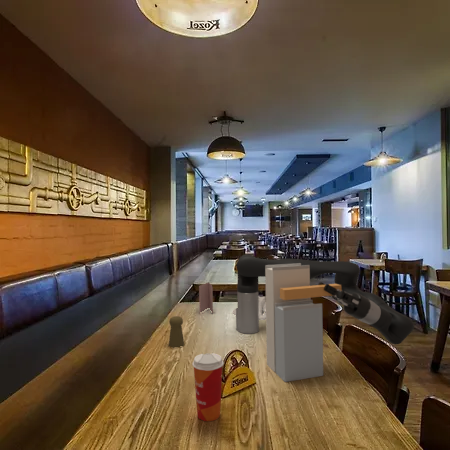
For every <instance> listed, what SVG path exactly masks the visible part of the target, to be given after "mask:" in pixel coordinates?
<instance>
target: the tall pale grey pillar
mask: <svg viewBox="0 0 450 450" xmlns="http://www.w3.org/2000/svg"><path fill="white" fill-rule="evenodd" d="M302 286H311V279H310V265H302V266H301V263H297V264H279V265H265V298H266V320H265V322H266V323H265V325H266V327H265V329H266V330H265V331H266V333H265V334H266V337H265V339H266V341H265V342H266V366H268V367H269V368H270V370H272V372H274V373H276V342H275V303H281V302H292V301H303V300H311V298H301V299H291V300H283V299H281V298H280V288H290V287H302Z"/></svg>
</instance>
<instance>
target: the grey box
mask: <svg viewBox="0 0 450 450" xmlns="http://www.w3.org/2000/svg"><path fill="white" fill-rule="evenodd" d="M323 329H324V328H323V303H313V299H310V300H303V301H292V302H281V303H275V342H276V372H275V374H276V375H277V376H278V377H279V378H280V380H282V381H283V382H284V383H286V382H294V381H299V380H305V379H310V378H312V379H313V378H317V377H323V376H324V344H323V343H324V339H323V337H324V336H323V333H324V332H323Z"/></svg>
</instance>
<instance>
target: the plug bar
mask: <svg viewBox="0 0 450 450" xmlns="http://www.w3.org/2000/svg"><path fill="white" fill-rule="evenodd" d="M324 284H325V285H326V284H327V283H324ZM328 284H329V285H330V286H332V287H334V288H336V289H339V290H340V291H342V290H341V285H339V284H335V283H328ZM325 285H318V284H317V285H316V284H313V285H310V286H302V287H290V288H280V298H281V299H283V300H291V299H301V298H310V299H311V298H321V297H329V296H333V295H332V294H330V293H328V292H326V291H324V287H325Z"/></svg>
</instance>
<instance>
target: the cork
mask: <svg viewBox="0 0 450 450" xmlns="http://www.w3.org/2000/svg"><path fill="white" fill-rule="evenodd" d="M183 323H184V320H183V317H181V316H177V315H176V316H172V317H170V318H169V325H170V331H169V340H168V341H169V342H168V347H169V346H171V347H180V346H183V345H184V346H185V340H184V332H183V327H182V325H183ZM184 346H183V347H184ZM171 347H170V348H171ZM180 348H181V347H180Z"/></svg>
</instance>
